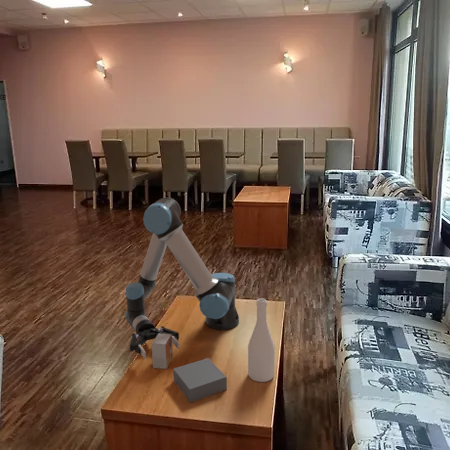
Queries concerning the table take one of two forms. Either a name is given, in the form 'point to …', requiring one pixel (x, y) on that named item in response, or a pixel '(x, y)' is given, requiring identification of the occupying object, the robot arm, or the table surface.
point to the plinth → (199, 379)
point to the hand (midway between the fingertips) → (162, 350)
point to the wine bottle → (261, 347)
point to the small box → (162, 351)
